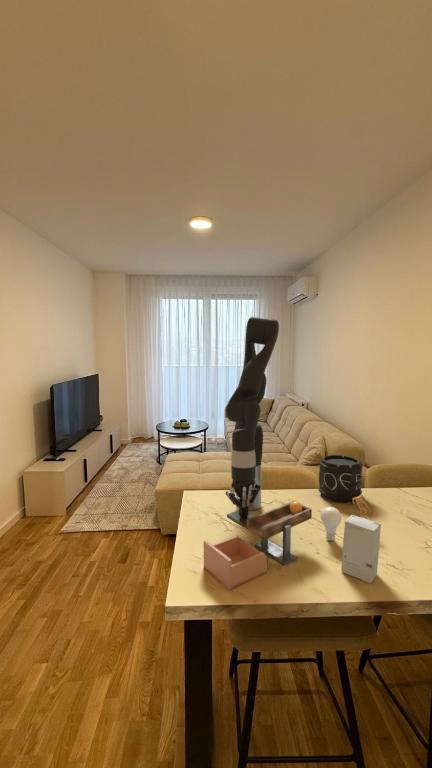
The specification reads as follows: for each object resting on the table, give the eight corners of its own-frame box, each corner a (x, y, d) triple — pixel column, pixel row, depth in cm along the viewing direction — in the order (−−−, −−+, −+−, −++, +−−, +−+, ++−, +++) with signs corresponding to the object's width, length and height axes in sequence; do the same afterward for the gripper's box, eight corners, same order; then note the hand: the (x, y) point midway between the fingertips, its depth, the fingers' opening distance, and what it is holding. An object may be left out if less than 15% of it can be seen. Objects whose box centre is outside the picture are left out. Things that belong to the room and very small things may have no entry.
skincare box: (341, 572, 100) (342, 520, 99) (348, 562, 105) (350, 513, 103) (372, 584, 95) (374, 530, 93) (379, 574, 99) (381, 522, 98)
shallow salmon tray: (203, 568, 102) (203, 540, 102) (239, 553, 110) (239, 528, 109) (229, 590, 93) (229, 560, 92) (266, 572, 100) (266, 545, 99)
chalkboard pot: (341, 508, 142) (342, 469, 140) (309, 492, 158) (310, 457, 156) (372, 499, 150) (374, 462, 149) (339, 485, 166) (340, 452, 165)
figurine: (378, 531, 123) (379, 497, 122) (364, 535, 121) (365, 500, 120) (360, 521, 130) (361, 489, 130) (346, 524, 128) (347, 491, 127)
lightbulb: (340, 537, 119) (341, 505, 118) (340, 546, 113) (341, 513, 112) (320, 534, 121) (321, 502, 120) (319, 543, 115) (320, 510, 114)
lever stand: (266, 541, 117) (266, 510, 116) (296, 560, 106) (297, 525, 105) (254, 546, 114) (254, 514, 113) (284, 565, 103) (285, 530, 102)
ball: (287, 514, 115) (286, 502, 114) (296, 509, 117) (295, 497, 117) (296, 518, 112) (295, 506, 111) (305, 513, 114) (304, 502, 113)
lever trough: (272, 500, 127) (272, 491, 127) (311, 518, 113) (311, 509, 113) (227, 517, 116) (226, 508, 116) (264, 540, 102) (263, 529, 101)
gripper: (251, 457, 119) (251, 508, 120) (219, 464, 112) (219, 518, 113) (267, 462, 113) (267, 516, 114) (234, 470, 105) (234, 527, 107)
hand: (243, 517), depth 113 cm, fingers closed
